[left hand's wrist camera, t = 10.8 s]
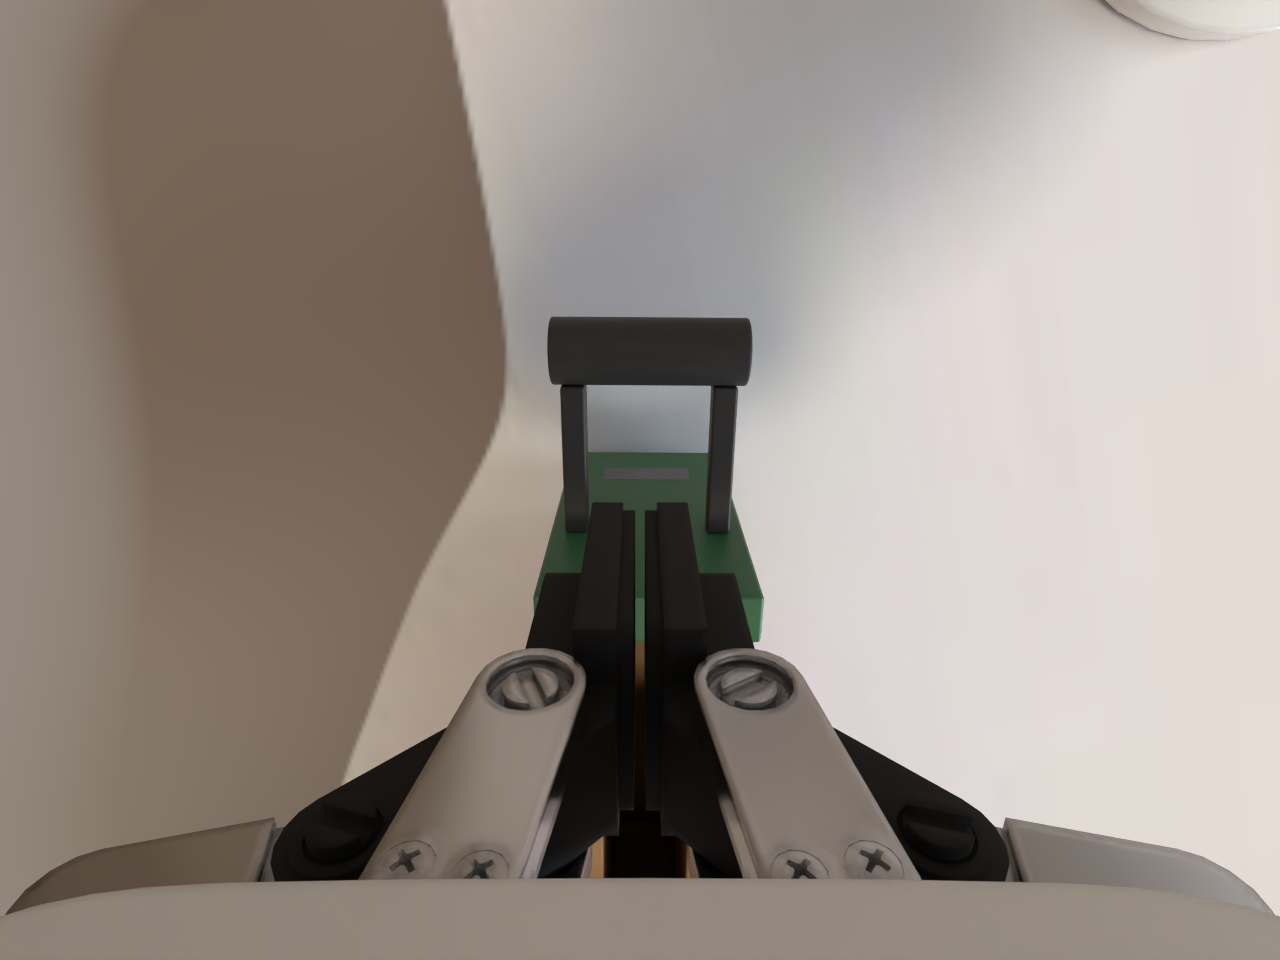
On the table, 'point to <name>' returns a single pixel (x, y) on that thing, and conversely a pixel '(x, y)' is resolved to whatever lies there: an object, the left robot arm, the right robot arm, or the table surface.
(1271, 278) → the table surface
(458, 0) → the table surface
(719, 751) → the left robot arm
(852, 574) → the table surface
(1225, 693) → the table surface
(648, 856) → the drawer
